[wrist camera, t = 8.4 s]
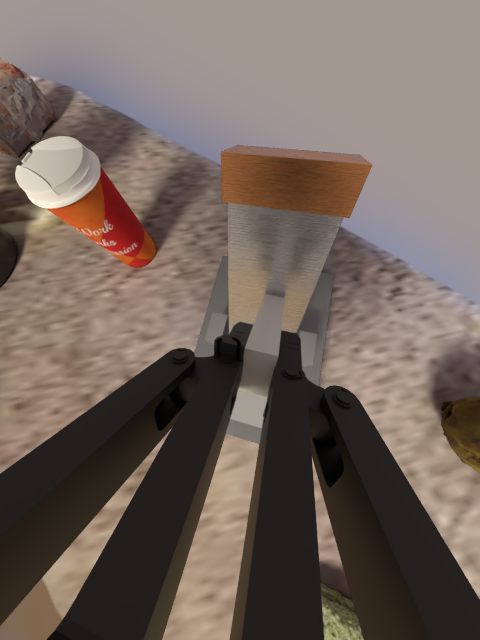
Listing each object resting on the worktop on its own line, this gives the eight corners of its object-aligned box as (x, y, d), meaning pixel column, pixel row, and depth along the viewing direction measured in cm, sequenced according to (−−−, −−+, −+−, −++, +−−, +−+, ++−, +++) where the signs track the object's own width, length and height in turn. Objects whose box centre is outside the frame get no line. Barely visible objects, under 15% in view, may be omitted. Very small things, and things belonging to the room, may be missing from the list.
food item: (40, 109, 43) (-22, 36, 34) (65, 117, 42) (8, 43, 32) (-2, 152, 41) (-81, 86, 31) (23, 162, 39) (-52, 96, 30)
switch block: (299, 443, 22) (319, 478, 15) (188, 410, 24) (159, 427, 17) (323, 288, 27) (347, 258, 20) (227, 270, 29) (217, 238, 22)
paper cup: (108, 265, 31) (-7, 185, 17) (131, 227, 32) (41, 126, 19) (149, 280, 29) (59, 205, 16) (171, 239, 31) (105, 139, 18)
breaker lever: (285, 365, 20) (372, 164, 8) (226, 351, 20) (220, 151, 9) (288, 342, 22) (359, 154, 10) (233, 330, 22) (238, 145, 11)
